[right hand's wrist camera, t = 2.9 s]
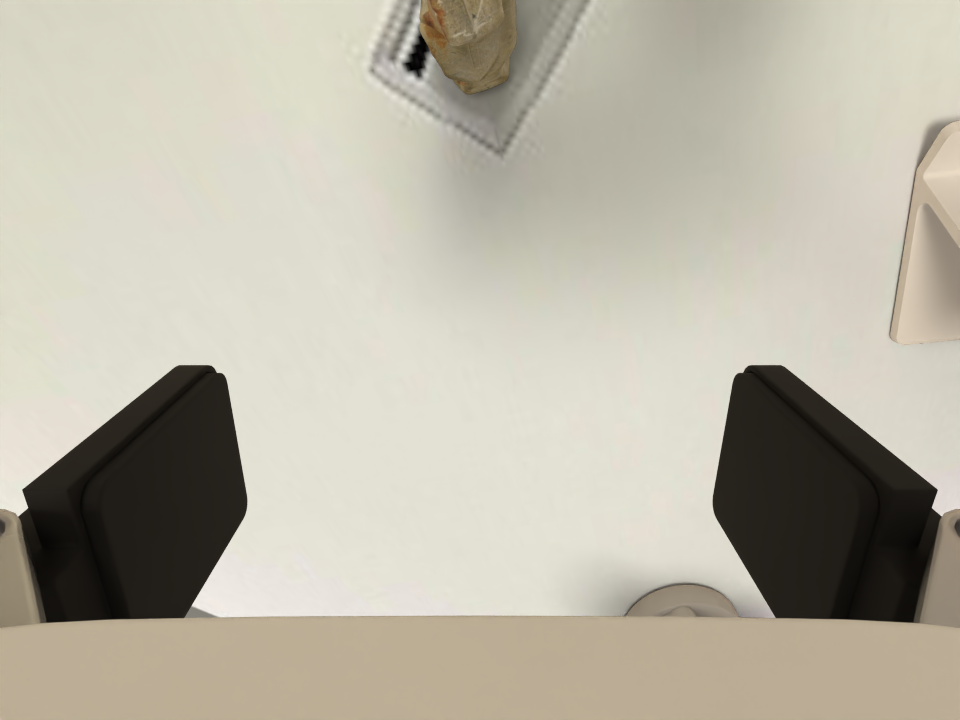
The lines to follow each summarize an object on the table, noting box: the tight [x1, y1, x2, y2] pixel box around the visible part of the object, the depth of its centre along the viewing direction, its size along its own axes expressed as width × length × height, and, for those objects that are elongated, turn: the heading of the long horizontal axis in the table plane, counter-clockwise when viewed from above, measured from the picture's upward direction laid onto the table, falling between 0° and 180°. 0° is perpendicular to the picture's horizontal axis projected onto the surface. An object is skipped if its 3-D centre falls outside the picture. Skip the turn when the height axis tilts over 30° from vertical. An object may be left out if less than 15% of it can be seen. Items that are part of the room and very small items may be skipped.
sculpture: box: [419, 0, 517, 94], centre depth 36 cm, size 6×7×15 cm
